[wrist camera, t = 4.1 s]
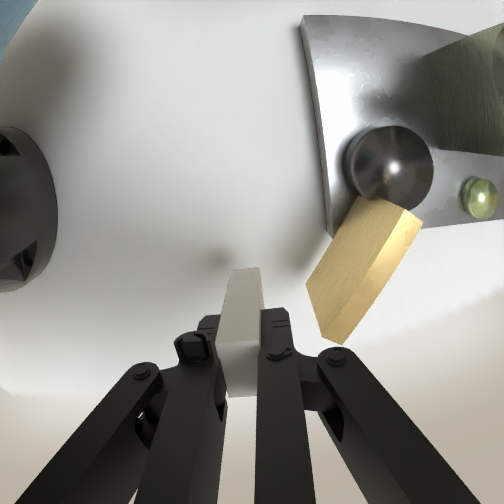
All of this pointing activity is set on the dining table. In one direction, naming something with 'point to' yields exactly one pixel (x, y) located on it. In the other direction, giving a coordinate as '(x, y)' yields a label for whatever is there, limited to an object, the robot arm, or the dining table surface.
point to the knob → (371, 226)
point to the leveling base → (411, 108)
